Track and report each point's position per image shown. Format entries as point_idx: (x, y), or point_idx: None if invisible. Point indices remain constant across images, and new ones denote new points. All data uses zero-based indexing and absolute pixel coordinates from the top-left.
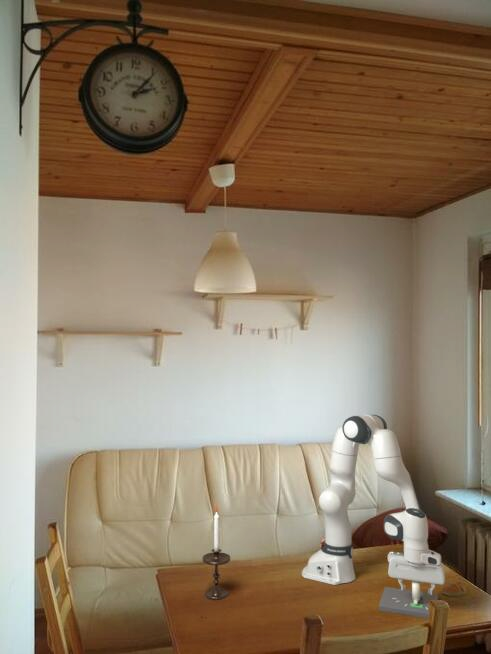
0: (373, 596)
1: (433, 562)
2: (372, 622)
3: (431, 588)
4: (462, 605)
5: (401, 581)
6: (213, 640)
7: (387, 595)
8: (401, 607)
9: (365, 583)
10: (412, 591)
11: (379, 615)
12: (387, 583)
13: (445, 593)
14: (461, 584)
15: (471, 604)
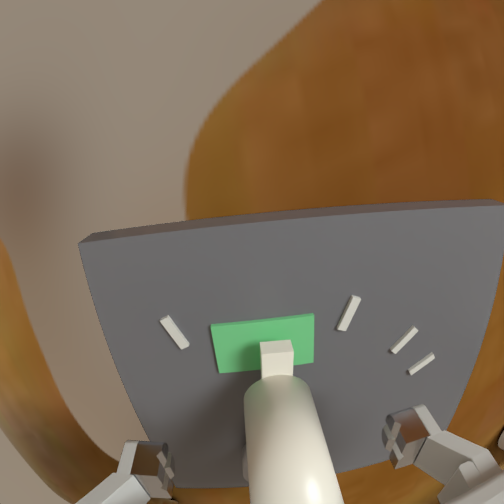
0: (491, 351)
1: None
2: (484, 26)
3: (113, 490)
4: (64, 442)
5: (461, 465)
6: None
7: (450, 376)
8: (382, 256)
9: (485, 425)
10: (321, 435)
11: (481, 125)
12: (408, 473)
13: (157, 499)
14: None
15: (46, 452)
